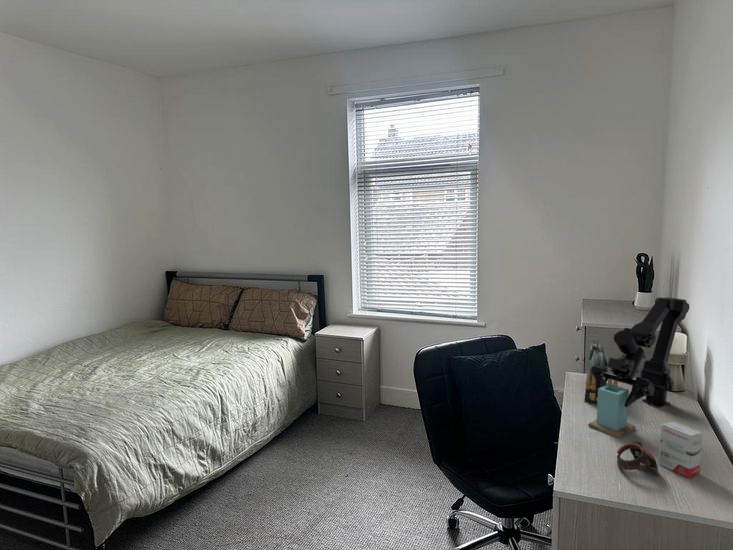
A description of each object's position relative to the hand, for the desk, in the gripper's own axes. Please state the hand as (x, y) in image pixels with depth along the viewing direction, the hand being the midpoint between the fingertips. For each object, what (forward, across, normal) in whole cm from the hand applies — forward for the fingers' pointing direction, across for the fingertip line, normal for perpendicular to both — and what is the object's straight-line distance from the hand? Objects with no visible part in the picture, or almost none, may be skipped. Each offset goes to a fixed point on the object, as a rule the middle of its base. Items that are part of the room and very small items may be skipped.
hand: (610, 402), depth 153 cm
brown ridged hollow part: (+19, +17, -5) cm, 26 cm away
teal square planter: (+5, 0, +7) cm, 8 cm away
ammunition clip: (-5, -12, +18) cm, 22 cm away
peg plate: (+5, 0, +7) cm, 9 cm away
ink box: (+12, +23, +1) cm, 26 cm away
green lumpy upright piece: (-12, -19, +25) cm, 34 cm away
